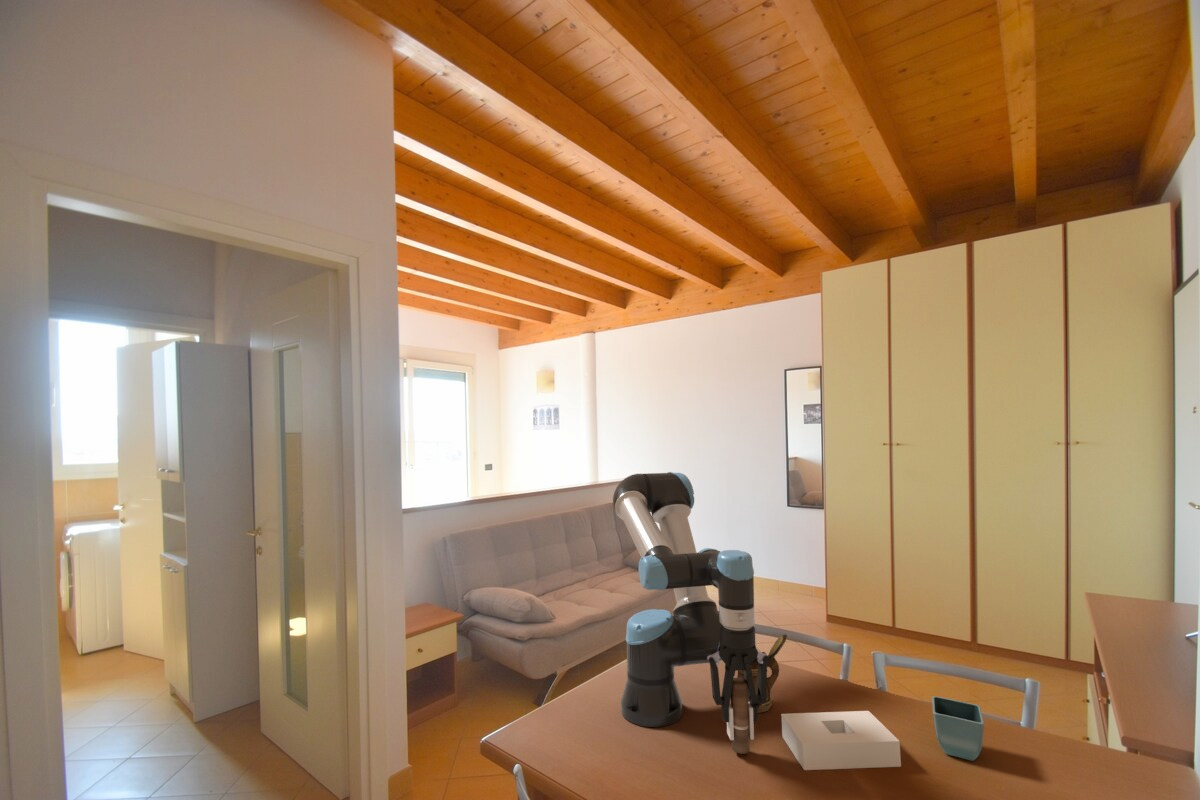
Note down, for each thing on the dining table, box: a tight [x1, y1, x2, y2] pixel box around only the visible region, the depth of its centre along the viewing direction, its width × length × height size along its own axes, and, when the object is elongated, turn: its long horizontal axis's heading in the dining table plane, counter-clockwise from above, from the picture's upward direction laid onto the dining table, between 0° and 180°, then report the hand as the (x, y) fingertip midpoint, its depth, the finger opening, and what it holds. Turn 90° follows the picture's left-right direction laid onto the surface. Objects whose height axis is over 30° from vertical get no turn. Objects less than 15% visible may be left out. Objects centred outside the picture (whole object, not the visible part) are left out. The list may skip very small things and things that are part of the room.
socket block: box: [780, 710, 902, 771], centre depth 114 cm, size 12×20×5 cm, turn 92°
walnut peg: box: [730, 677, 750, 755], centre depth 114 cm, size 4×4×14 cm
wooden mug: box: [736, 634, 788, 714], centre depth 134 cm, size 9×14×18 cm, turn 72°
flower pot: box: [931, 695, 985, 762], centre depth 113 cm, size 9×9×9 cm
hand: (740, 736), depth 114 cm, fingers closed on walnut peg, 4 cm apart
